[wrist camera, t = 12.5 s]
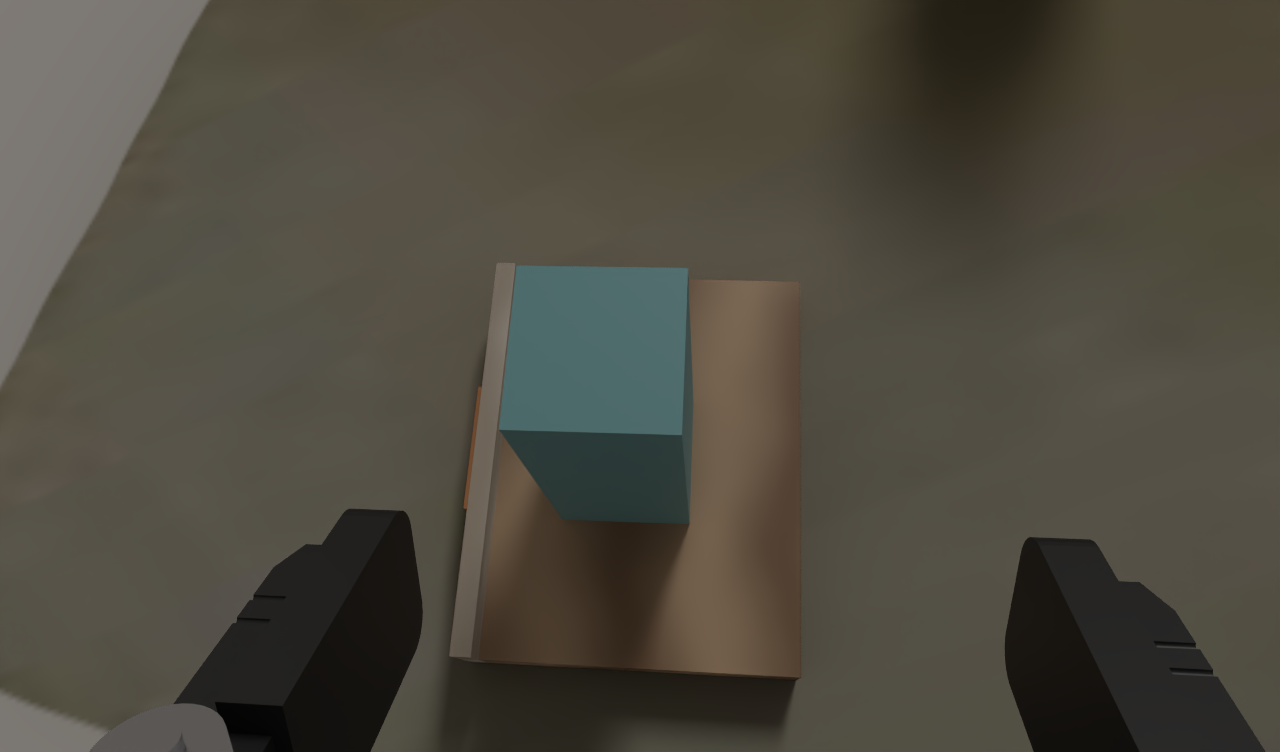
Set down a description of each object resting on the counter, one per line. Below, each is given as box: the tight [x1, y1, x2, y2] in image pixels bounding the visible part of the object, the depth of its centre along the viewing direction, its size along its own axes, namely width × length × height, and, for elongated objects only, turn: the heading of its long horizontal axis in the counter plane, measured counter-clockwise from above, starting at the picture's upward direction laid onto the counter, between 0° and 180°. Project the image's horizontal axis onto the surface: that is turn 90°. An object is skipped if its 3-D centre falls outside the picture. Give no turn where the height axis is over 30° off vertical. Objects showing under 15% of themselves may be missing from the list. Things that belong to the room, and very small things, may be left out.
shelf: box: [449, 263, 801, 680], centre depth 38 cm, size 13×16×3 cm
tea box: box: [499, 266, 694, 524], centre depth 32 cm, size 5×5×12 cm
